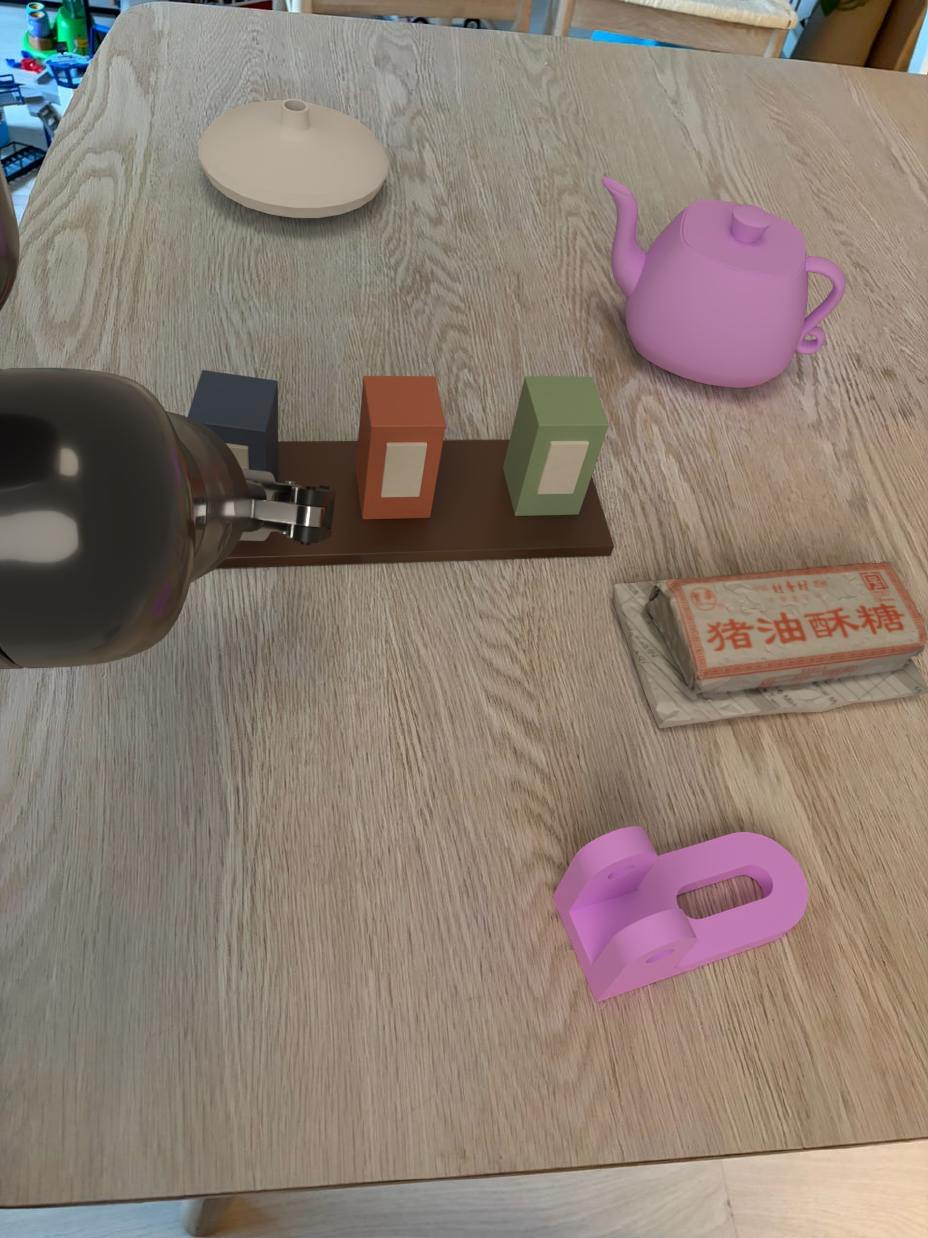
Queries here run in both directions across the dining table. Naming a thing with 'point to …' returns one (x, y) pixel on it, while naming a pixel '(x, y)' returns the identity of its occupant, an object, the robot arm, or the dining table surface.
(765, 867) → the bracket
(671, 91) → the dining table surface
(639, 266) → the teapot
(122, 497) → the robot arm
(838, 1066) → the dining table surface
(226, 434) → the navy box with label
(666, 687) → the packaged product
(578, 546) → the brown board
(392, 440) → the orange block
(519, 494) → the green block
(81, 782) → the dining table surface
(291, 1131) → the dining table surface
